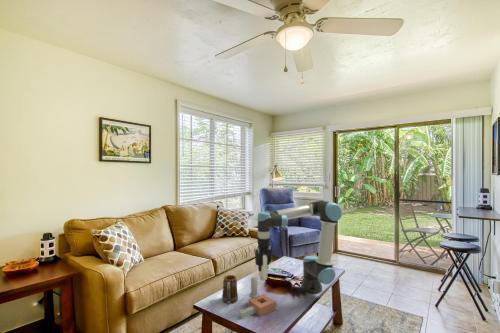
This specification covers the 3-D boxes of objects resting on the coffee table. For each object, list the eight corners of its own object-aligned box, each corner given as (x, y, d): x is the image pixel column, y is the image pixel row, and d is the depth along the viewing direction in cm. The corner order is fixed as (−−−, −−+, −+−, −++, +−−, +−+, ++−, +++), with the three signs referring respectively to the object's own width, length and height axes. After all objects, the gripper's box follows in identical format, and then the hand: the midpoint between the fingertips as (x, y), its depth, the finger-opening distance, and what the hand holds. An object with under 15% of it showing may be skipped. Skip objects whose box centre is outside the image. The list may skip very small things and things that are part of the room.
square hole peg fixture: (258, 298, 173) (258, 274, 173) (275, 309, 159) (275, 283, 159) (230, 309, 160) (230, 283, 160) (246, 322, 146) (246, 294, 146)
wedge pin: (264, 277, 163) (264, 253, 163) (267, 279, 160) (267, 254, 161) (258, 279, 160) (259, 254, 160) (262, 281, 158) (262, 256, 158)
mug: (223, 295, 177) (223, 274, 177) (238, 296, 176) (238, 274, 177) (219, 308, 161) (219, 284, 161) (236, 308, 161) (236, 284, 161)
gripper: (269, 234, 169) (269, 270, 168) (249, 238, 159) (249, 276, 159) (277, 236, 162) (277, 274, 162) (256, 240, 153) (256, 280, 152)
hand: (263, 275), depth 160 cm, fingers closed on wedge pin, 3 cm apart
